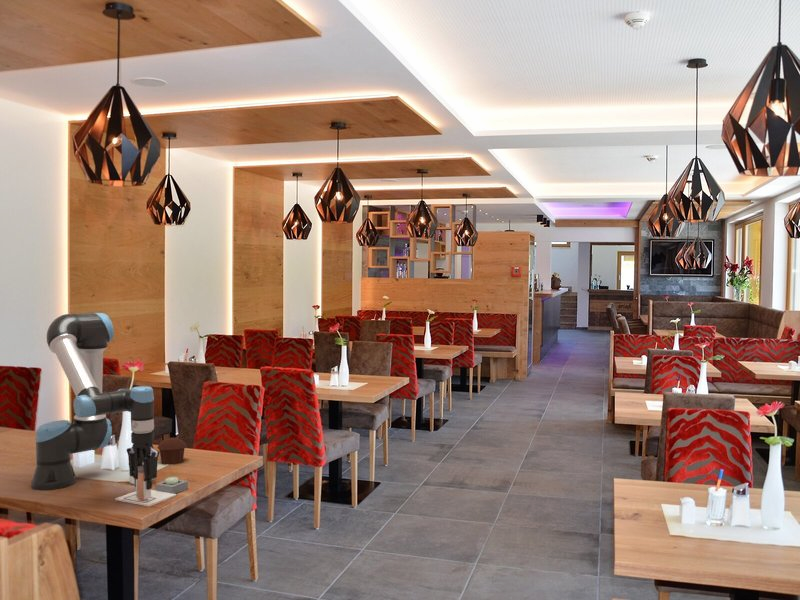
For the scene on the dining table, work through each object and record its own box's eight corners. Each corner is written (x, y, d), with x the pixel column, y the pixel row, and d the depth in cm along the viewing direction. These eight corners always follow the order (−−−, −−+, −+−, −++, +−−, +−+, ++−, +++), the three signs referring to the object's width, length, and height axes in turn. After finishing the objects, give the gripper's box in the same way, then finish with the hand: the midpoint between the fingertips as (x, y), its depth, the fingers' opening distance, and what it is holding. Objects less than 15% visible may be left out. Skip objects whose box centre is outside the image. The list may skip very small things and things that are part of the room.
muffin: (186, 457, 308) (185, 434, 307) (187, 463, 297) (186, 440, 297) (157, 459, 304) (157, 436, 303) (157, 466, 293) (156, 442, 293)
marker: (136, 500, 247) (135, 466, 247) (143, 497, 250) (142, 464, 250) (142, 501, 246) (142, 467, 245) (150, 498, 249) (149, 465, 248)
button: (162, 487, 259) (162, 479, 259) (171, 484, 263) (171, 476, 263) (172, 489, 257) (171, 480, 257) (180, 485, 261) (180, 477, 261)
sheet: (115, 500, 249) (115, 498, 249) (143, 489, 261) (143, 488, 261) (149, 506, 242) (149, 504, 242) (176, 495, 254) (176, 494, 254)
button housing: (155, 492, 258) (155, 484, 258) (171, 486, 266) (171, 478, 266) (172, 495, 255) (172, 486, 255) (187, 489, 262) (187, 481, 262)
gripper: (117, 431, 247) (118, 497, 248) (151, 435, 240) (152, 503, 241) (134, 427, 254) (135, 491, 255) (167, 431, 247) (168, 497, 248)
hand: (143, 497), depth 248 cm, fingers closed on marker, 3 cm apart
